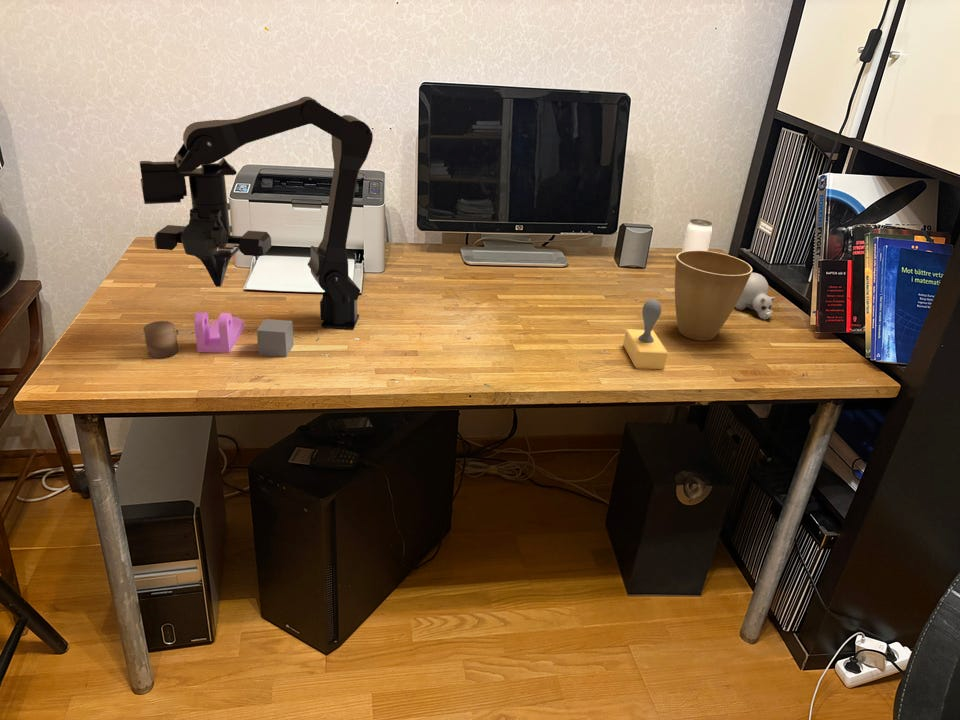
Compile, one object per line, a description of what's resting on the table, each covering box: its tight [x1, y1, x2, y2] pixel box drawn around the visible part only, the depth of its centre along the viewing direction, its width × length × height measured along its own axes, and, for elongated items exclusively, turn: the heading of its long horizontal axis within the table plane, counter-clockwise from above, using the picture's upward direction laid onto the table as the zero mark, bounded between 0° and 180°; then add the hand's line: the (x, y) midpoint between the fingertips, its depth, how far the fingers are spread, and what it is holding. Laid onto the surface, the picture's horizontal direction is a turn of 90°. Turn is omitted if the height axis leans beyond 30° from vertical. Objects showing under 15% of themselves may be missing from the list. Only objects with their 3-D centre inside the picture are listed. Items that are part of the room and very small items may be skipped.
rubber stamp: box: [622, 298, 668, 370], centre depth 134 cm, size 10×6×12 cm, turn 3°
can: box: [681, 218, 713, 252], centre depth 186 cm, size 6×6×12 cm
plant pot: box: [674, 250, 753, 342], centre depth 145 cm, size 15×15×16 cm
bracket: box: [193, 311, 245, 354], centre depth 131 cm, size 13×6×7 cm, turn 3°
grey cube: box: [256, 318, 294, 358], centre depth 128 cm, size 5×5×5 cm
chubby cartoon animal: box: [734, 272, 776, 320], centre depth 160 cm, size 7×12×8 cm, turn 18°
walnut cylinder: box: [143, 320, 179, 360], centre depth 124 cm, size 5×5×5 cm
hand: (218, 286), depth 128 cm, fingers closed
